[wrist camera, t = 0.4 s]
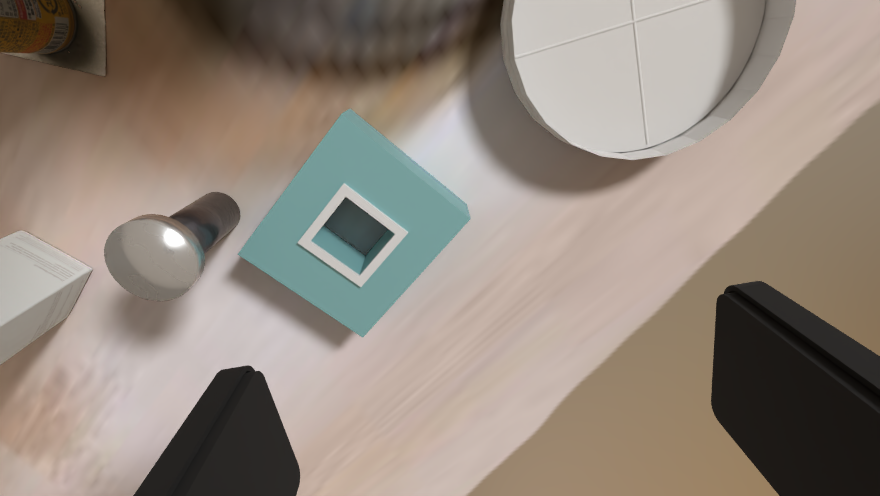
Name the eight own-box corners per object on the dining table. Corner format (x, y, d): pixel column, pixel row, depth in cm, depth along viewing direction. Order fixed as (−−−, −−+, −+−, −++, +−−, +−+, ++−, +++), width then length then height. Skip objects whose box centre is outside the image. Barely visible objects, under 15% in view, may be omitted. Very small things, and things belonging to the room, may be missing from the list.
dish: (527, 179, 45) (539, 192, 40) (470, -85, 36) (477, -106, 32) (759, 113, 43) (800, 120, 38) (755, -179, 35) (806, -216, 30)
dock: (254, 236, 46) (236, 255, 41) (350, 108, 41) (340, 114, 37) (368, 314, 49) (362, 339, 45) (466, 204, 45) (470, 219, 41)
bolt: (172, 216, 45) (89, 267, 34) (206, 166, 43) (129, 203, 32) (231, 254, 46) (169, 316, 35) (265, 207, 45) (212, 256, 33)
